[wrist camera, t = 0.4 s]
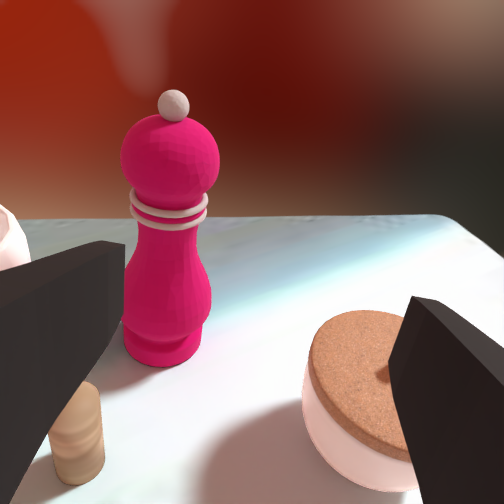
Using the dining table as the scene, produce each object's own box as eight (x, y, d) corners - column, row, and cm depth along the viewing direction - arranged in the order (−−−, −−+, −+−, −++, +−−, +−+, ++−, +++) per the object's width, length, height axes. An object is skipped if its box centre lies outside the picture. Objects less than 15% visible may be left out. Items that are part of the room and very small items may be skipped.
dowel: (93, 489, 24) (86, 430, 21) (46, 480, 24) (31, 420, 21) (111, 444, 27) (108, 385, 23) (68, 436, 27) (58, 376, 23)
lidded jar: (270, 486, 26) (303, 393, 21) (300, 362, 35) (329, 274, 29) (443, 551, 24) (527, 469, 19) (429, 404, 33) (484, 319, 28)
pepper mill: (201, 306, 38) (226, 80, 27) (212, 369, 33) (249, 116, 21) (119, 309, 36) (109, 68, 25) (115, 377, 31) (102, 103, 20)
